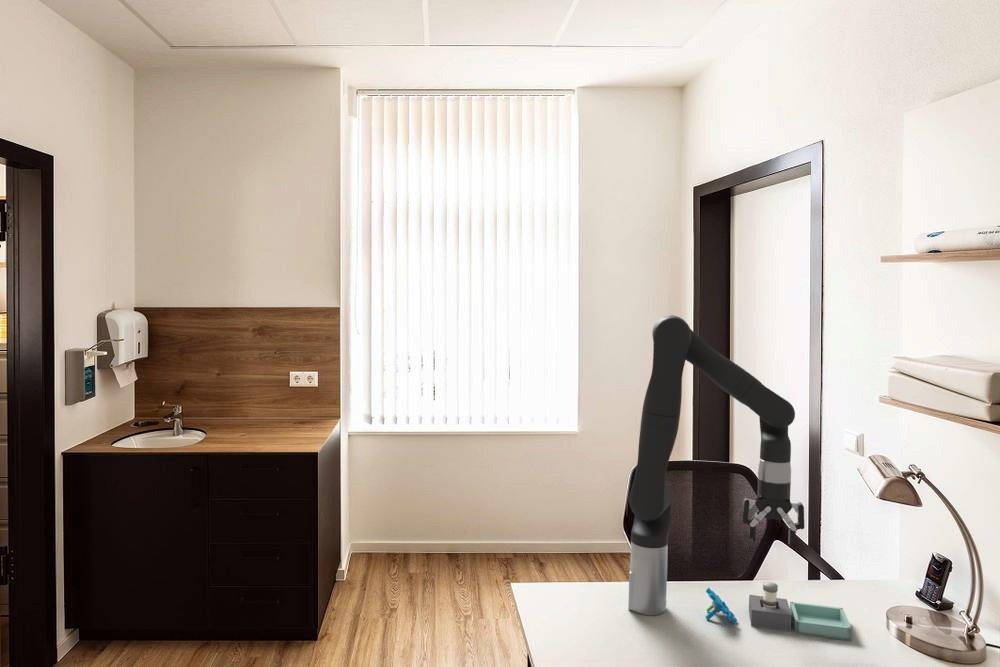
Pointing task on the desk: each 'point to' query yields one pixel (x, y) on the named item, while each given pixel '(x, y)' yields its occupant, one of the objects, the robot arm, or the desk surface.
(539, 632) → the desk surface
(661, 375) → the robot arm
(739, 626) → the desk surface
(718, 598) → the blue plastic angular piece
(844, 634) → the parts tray
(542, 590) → the desk surface
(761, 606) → the block
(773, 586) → the cylinder
